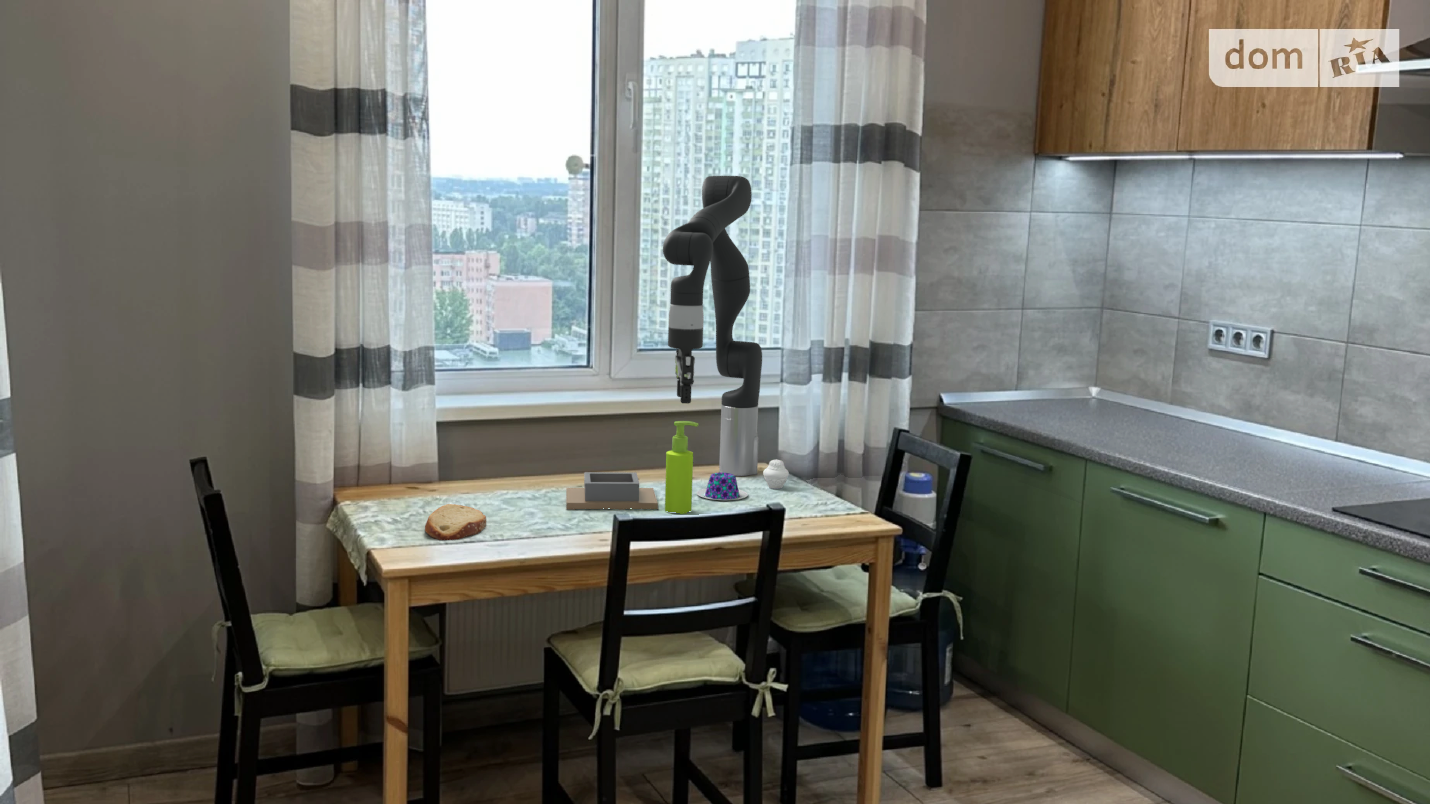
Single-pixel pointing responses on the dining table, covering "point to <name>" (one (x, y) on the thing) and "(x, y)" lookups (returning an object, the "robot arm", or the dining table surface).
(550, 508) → the dining table surface
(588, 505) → the soap caddy
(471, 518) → the bread slice
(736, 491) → the pudding
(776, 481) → the white lidded jar
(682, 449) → the soap dispenser
